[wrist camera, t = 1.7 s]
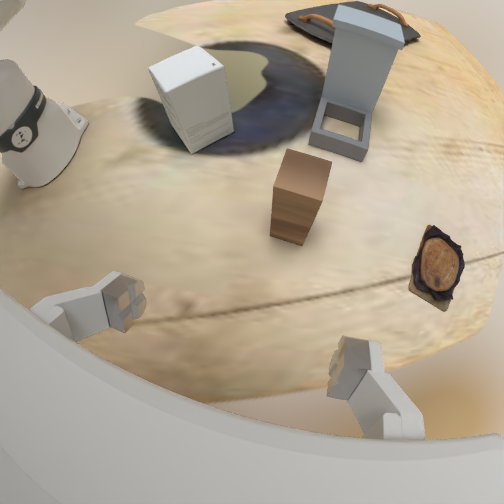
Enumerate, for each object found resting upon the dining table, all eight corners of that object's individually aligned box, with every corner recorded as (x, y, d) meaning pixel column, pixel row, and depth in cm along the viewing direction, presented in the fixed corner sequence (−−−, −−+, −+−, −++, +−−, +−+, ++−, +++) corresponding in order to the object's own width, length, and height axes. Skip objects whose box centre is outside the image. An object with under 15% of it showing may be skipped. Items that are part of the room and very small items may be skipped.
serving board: (361, 6, 53) (365, -8, 47) (423, 42, 48) (429, 27, 42) (273, 25, 48) (273, 5, 42) (352, 67, 42) (358, 44, 36)
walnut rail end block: (302, 245, 32) (322, 201, 21) (269, 235, 33) (273, 186, 21) (310, 216, 33) (332, 161, 22) (279, 206, 34) (286, 148, 22)
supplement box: (212, 105, 39) (199, 43, 27) (235, 133, 37) (226, 65, 25) (171, 126, 38) (146, 66, 26) (190, 156, 36) (165, 92, 24)
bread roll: (444, 315, 30) (460, 313, 26) (400, 287, 31) (415, 283, 27) (463, 250, 32) (477, 243, 28) (423, 221, 33) (436, 211, 30)
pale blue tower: (364, 163, 35) (410, 73, 19) (305, 143, 36) (324, 43, 20) (371, 102, 39) (400, 24, 22) (323, 86, 40) (338, 4, 23)
